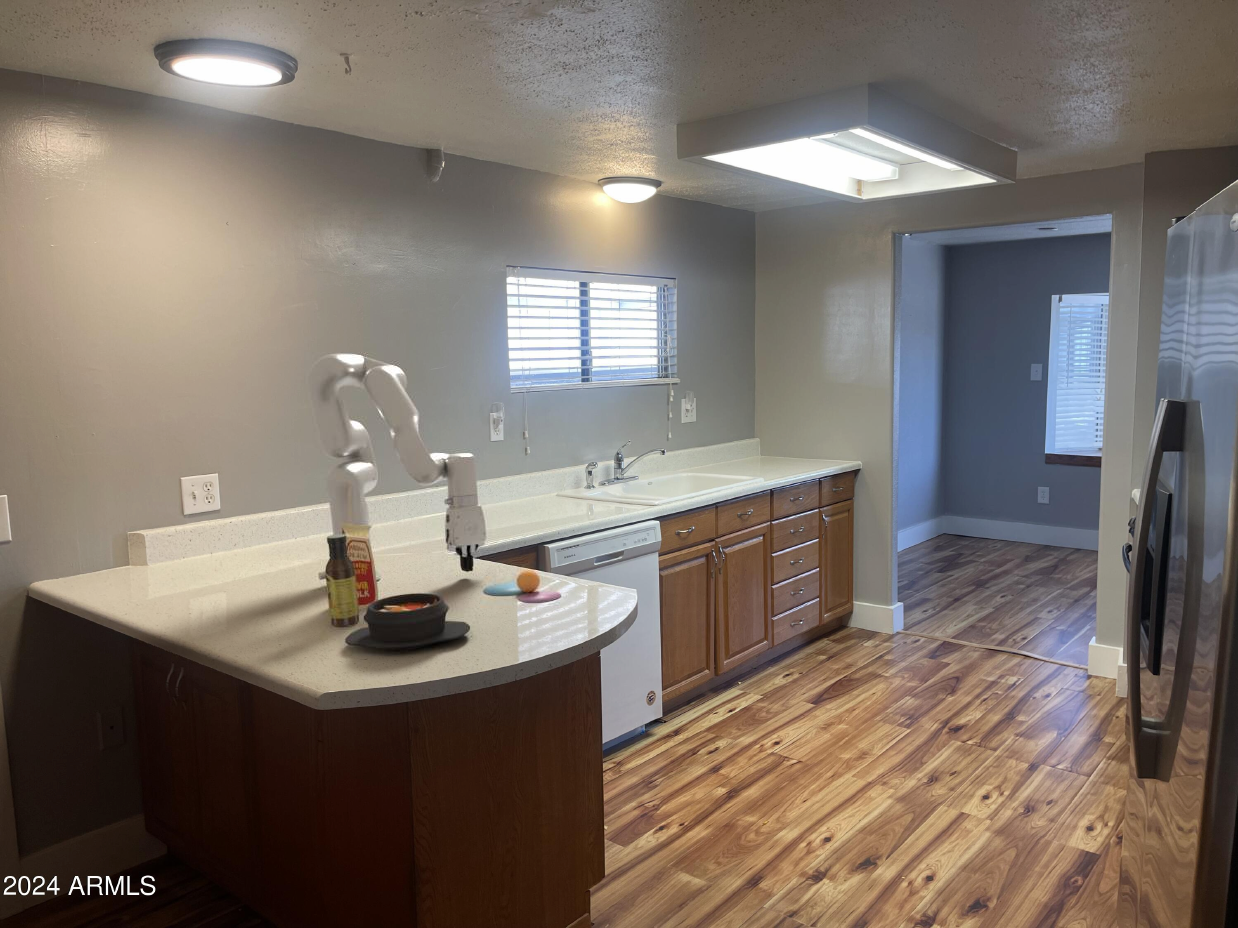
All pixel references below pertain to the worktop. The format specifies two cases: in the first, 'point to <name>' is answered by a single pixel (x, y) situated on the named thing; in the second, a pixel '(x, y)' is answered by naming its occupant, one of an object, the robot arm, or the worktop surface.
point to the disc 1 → (503, 589)
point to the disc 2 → (539, 596)
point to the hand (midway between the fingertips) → (467, 570)
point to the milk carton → (362, 562)
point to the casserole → (407, 623)
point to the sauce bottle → (341, 583)
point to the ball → (528, 581)
